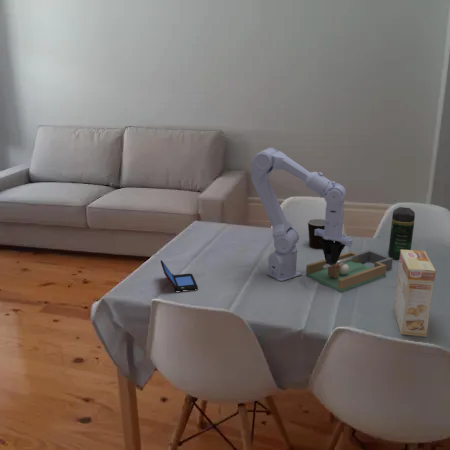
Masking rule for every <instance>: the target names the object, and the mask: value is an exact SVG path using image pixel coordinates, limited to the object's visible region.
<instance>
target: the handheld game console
mask: <svg viewBox="0 0 450 450" xmlns="http://www.w3.org/2000/svg"><path fill="white" fill-rule="evenodd" d="M160 264H161V268H162V270H163V274H164V276H165V277H166V279H168V281H169V283H170V284H171V285H172V286H173V288H175V289H174V291H175V290H176V291H183V290H195V289H197V290H199V287H198V284H197V282H196V280H195V277H194V275H193V273H180V274H173V273H172V272H171V271H170V269H169V268H168V267H167V265H166V263H165V262H164V261H163V260H162V259H161V260H160ZM195 291H196V290H195Z"/></svg>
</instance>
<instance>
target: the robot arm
mask: <svg viewBox="0 0 450 450" xmlns="http://www.w3.org/2000/svg"><path fill="white" fill-rule="evenodd" d="M251 166H252V167H251V182H252V184H253V186H254V189H255V191H256V194H257V195H258V196H257V197H259V200H260V203H261V204H262V206H263V207H262V208H263V210H265V214H266V215H267V216H266V217H267V218H268V220H269V223H270V224H271V227H272V238H273V246H274V248H275V251H273V252H272V253H270V254H269V256H268V257H267V258H268V259H267V263H268V266H267V271H266V275H267V276H269V277H272V278H274V279H276V280H277V281H279V282H282V281H283V282H284V281H286V280H289V279H293V278H295V277H300V276H301V275H302V272H299V271H297V263H298V262H297V257H298V256H297V255H298V247H297V245H296V244H298V242H299V240H300V235H299V232H298V231H297V230H296V229H295V228H294V227H293V225H292V223H290V221H288V220H287V218H286V216H285V213H284V211H283V210H282V206H281V204H280V202H279V200H278V198H277V196H276V193H275V190H274V189H273V188H274V187H272V184H271V182H270V180H269V178H270V175H271V173H272V170H273V171H275V170H284V171H286V172H287V173H289V174H291V175H293V176H295V177H296V178H298V179H300V180H302V181H304V184H305V187H306V188H308V189H309V190H311V191H312V192H314V193H316V194H317V195H318V196H320V197H321V198H324V201H325V202H326V207H325V216H324V217H325V218H324V220H325V229H324V230H322V229H315V232H314V235H316V236H317V235H318V236H321V237H322V239H320V240H319V243H320V244H321V246H322V249H321V250H322V251H323V257H324V259H325V260H326V253H329V252H332V263H336V262H338V259H339V256H340V255H341V254H342V252H343V250H344V248H345V247H347V248H350V247H352V246H353V239H351V238H349V237H347V236H346V235H345V234H343V227H344V225H343V223H344V212H345V208H344V207H345V203H344V202H345V198H346V195H347V189H346V188H345V187H344V185H342V184H341V183H337V182H336V181H334V180H333V181H332V180H330V179H329V178H327V177H326V176H323V174H324V173H322V172H321V171H319V172H317V171H312V172H310V171H309V170H307V169H306V168H305V167H303V166H302V165H300V164H299V163H298V162H296V161H294V160H293V159H292V158H290V157H289V156H287V154H285V152H283V151H280V150H278V149H277V148H275V147H273V146H271V147H270V146H269V147H266V148H265V149H263V150H261V151H260V152H259V151H258V152H257V153H256V154H255V155H254V157H253V159H252V161H251Z"/></svg>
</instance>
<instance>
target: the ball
mask: <svg viewBox="0 0 450 450" xmlns="http://www.w3.org/2000/svg"><path fill="white" fill-rule="evenodd" d="M348 272H349V266H348V265H347V264H346V263H341V264H340V268H339V273H340V274H342V275H345V274H347V273H348Z"/></svg>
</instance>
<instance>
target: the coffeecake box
mask: <svg viewBox="0 0 450 450" xmlns="http://www.w3.org/2000/svg"><path fill="white" fill-rule="evenodd" d="M436 273H437V271H436V268H435V267H434V265H433V263H432V261H431V259H430V257H428V254H427V252H426V251H425V250H417V249H416V250H415V249H411V250H402V249H401V250H400V260H398V270H397V281H396V288H395V294H394V295H395V296H394V297H395V298H394V304H393V313H394V316H395V318H396V322H397V325H398V326H397V327H398V328H399V333H400V335H403V336H404V335H405V336H414V337H423V338H424V337H428V328H429V321H430V314H431V308H432V307H431V306H432V299H433V291H434V285H435V284H434V283H435V280H436V279H435V278H436Z"/></svg>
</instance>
